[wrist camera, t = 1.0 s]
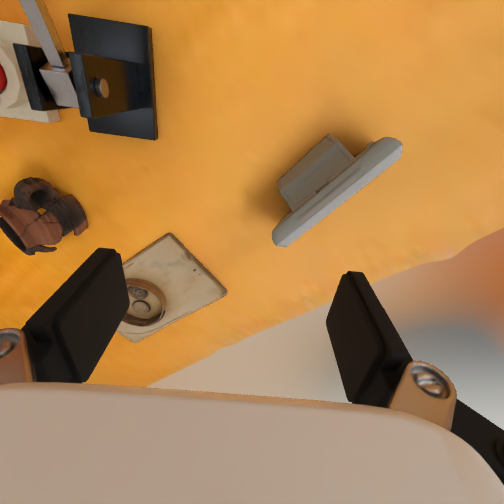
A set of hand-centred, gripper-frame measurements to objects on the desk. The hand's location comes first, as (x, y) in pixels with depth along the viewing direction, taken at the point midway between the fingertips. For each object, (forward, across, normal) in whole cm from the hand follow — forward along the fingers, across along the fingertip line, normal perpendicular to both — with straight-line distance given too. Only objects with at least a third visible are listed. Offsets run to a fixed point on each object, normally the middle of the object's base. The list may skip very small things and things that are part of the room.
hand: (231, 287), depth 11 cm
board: (+27, +16, +27) cm, 42 cm away
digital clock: (+28, -10, +3) cm, 30 cm away
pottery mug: (+28, +28, +11) cm, 41 cm away
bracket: (+27, +16, -6) cm, 32 cm away
